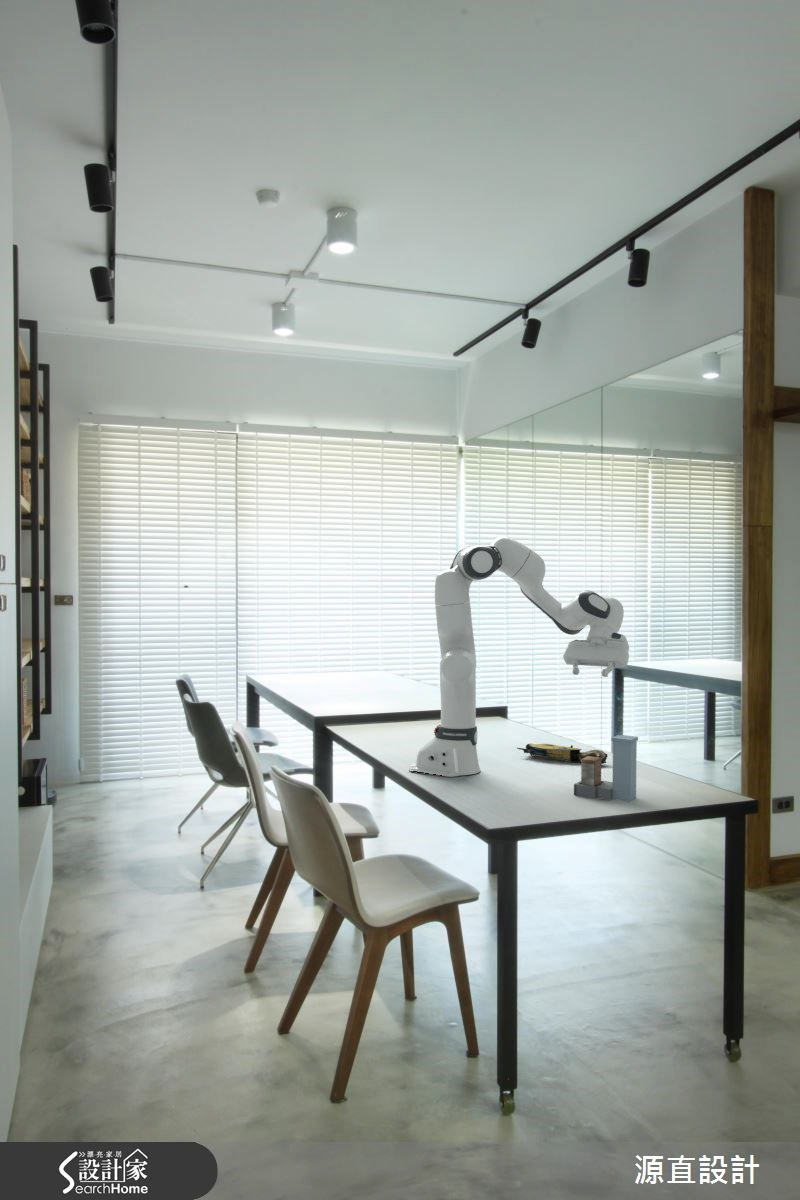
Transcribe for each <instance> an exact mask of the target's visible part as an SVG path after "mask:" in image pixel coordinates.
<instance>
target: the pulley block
mask: <svg viewBox="0 0 800 1200" xmlns="http://www.w3.org/2000/svg"><path fill="white" fill-rule="evenodd" d="M516 749H517V750H519V751H520V750H522V751H523V754H529V755H530V756H531V757H532V758H533V757H534V756H536V757H540V758H546V759H551V760H558V761H562V762H563V763H566V762H569V763H571V762H572V763H575V764H577V763H581V759H583V758H585V757H587V756H591V757H599V758H601V765H603V764H607V759H608V753H606V752H604V751H603V750H600V749H590V750H587V751H583V752H581V751H582V748H578V747H574V746H573V745H570V747H569V746H563V745H558V744H551V743H527V744H526V745H525V748H523V747H516Z"/></svg>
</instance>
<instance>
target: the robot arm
mask: <svg viewBox="0 0 800 1200" xmlns="http://www.w3.org/2000/svg"><path fill="white" fill-rule="evenodd" d="M496 571H500V572H501V573H504V574H505V575H506V576H508V577H509V578H510V579H512V580H513V581H515V582H516V584H517V585H518V586H519V589H520V591H521V593H522V594H523V595H524V596H525V597H526V598H527V600H529V601H530V602H531V603H532V604H533V605H534V606H535V607H536V608H538V609H539V610H540V611H541V612H542V613H543V614H545V615H546V617H548V618H549V619H550V620H551V621H552V622H553V623H554V624H555V625H556V627H557V628H558V629H559V630H560V631H561V632H562V633H564V634H566V635H573V636H575V635H578V634H579V633H580V632H581V631H582V630H583V629H585V628H586V627H587V626H589V632H588V635H587V638H586V639H574V640H572V641H569V642H568V645H567V647H566V648H565V650H564V652H563V655H562V657H563V661H564V662H565V664H566V665H569V666H572V671H571V672H572V675H574V676H576V675H577V676H578V675H579V673H580V669H579V666H586V667H587V666H588V667H605V669H604V668H603V669H602V671H601V676H602V677H608V676H609V674H610V673H611V672H612V671H613V670H615V668H620V669H621V668H622V669H624V668H625V667H627V666H628V663H629V659H630V654H629V651H630V646H629V645H630V644H629V641H628V639H627V637H626V636H625V635H624V634H622V633H619V631H620V629H621V627H622V623H623V620H624V614H625V610H624V607H623V604H622V602H620V601H619V600H618V599H617V598H614V597H610V596H609V597H604V596H601V595H599V594H598V593H597V592H595V591H592V590H586V589H585V590H583V591H581V592H580V593H578V594H577V595H576V596H574V597H573V598H572V599H571V600H570V601H568V602H567V603H562V602H560V601H558V600H557V599H556V598H555V597H553V595H551V593H549V592H548V591H547V590H546V589H545V588H544V586H543V585H544V584H543V581H544V578H545V576H546V575H545V574H546V564H545V561H544V559H543V558H542V557H541V556H540V555H539V554H538V553H537V552H536V551H533V549H530V548H529V547H528V546H526V545H525V544H522V543H521V542H519V541H517V540H515V539H513V538H511V537H509V536H504V535H503V536H499V537H497V538H496V539H494V540H493V541H492V543H491V544H490V545H485V544H484V545H483V544H482V545H481V544H479V545H478V544H477V545H475V544H474V545H469V546H466V547H465V548H462V549H460V550H459V551H458V552H457V553H456V554H455V556H454V558H453V560H452V564H451V565H450V568H449V569H444V570H442V571H440V572H439V573H438V574H437V575H436V577H435V584H434V604H435V605H434V606H435V614H436V615H435V616H436V617H435V618H436V628H437V636H438V640H439V649H440V656H441V657H440V658H441V659H440V664H439V682H440V683H439V684H440V685H439V687H440V689H439V690H440V691H439V692H440V724H438V725H436V727H435V728H434V729H433V733H434V736H435V737H433V738H432V739H431V740H429V741H428V742H427V743H425V744H424V745H423V746H422V747H420V748H419V750H418V752H417V754H416V760H415V762H413V763H411V764H410V765H409V769H410V770H413V771H419V772H424V773H423V774H425V773H429V774H428V775H433V774H436V775H435V776H440V775H442V777H448V778H451V777H452V778H455V777H459V776H469V775H475V774H478V773H480V772H481V770H482V769H481V766H480V763H479V759H478V749H477V745H478V727H477V724H476V723H477V721H476V718H477V717H476V713H477V707H476V706H477V705H476V703H477V699H476V696H477V695H476V686H477V685H476V681H477V680H476V671H477V656H476V648H475V647H476V646H475V639H474V629H473V620H472V619H473V618H472V611H471V599H470V588H471V584H472V583H473V582H477V581H481V580H485V579H488V578H489V577H490V576H491V575H493V574H494V573H495V572H496ZM410 770H409V771H410Z"/></svg>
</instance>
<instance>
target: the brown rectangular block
mask: <svg viewBox="0 0 800 1200" xmlns="http://www.w3.org/2000/svg"><path fill="white" fill-rule="evenodd" d="M580 764H581V766H580V768H581V770H580V772H581V773H580V775H581V778H580V781H581V785H588V786H595V787H597V786H599V785H600V784H601V781H602V764H601V758H599V757H591V756H587V757H585V758H583V759H581V762H580Z"/></svg>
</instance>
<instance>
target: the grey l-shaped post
mask: <svg viewBox="0 0 800 1200" xmlns="http://www.w3.org/2000/svg"><path fill="white" fill-rule="evenodd" d="M638 741H639V736H635V735H624V734H617V735H615V736H612V737H611V742H612V781H609V780H608V781H607V780H601V784H600V785H599V786H597V787H595V786H588V785H581V780H579V781H577V782H575V783H573V795H574V796H579V797H585V796H586V797H585V798H593V799H598V798H599V799H600V800H605V799H606V800H607V801H612V800H616V799H618V800H617V801H623V800H625V801H624V802H632V801H634V800H635V799H636V798H637V754H638V753H637V745H638V744H637V742H638ZM634 798H635V799H634ZM599 799H598V800H599ZM631 800H632V801H631Z"/></svg>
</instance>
